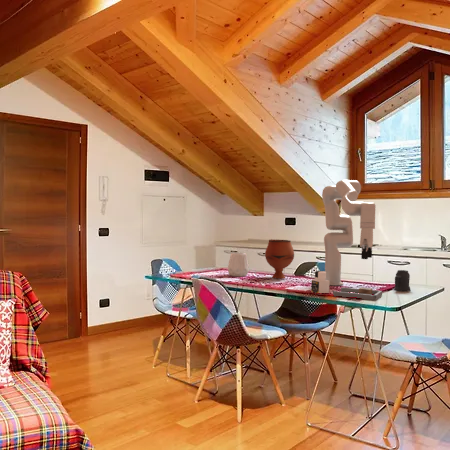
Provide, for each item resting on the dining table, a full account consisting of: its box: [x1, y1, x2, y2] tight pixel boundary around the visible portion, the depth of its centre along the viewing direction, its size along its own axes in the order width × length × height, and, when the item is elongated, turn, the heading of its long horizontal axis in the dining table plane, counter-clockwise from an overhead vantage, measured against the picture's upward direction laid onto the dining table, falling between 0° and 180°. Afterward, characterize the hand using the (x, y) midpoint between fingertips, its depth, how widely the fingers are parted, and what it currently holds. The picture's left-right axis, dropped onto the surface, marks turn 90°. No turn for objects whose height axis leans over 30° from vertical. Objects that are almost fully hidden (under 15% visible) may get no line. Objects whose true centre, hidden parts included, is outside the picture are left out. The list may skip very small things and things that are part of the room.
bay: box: [332, 286, 383, 301], centre depth 265 cm, size 22×16×2 cm
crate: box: [358, 287, 373, 295], centre depth 263 cm, size 6×5×4 cm
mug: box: [393, 269, 411, 293], centre depth 285 cm, size 12×9×11 cm
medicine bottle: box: [310, 270, 330, 294], centre depth 273 cm, size 7×7×12 cm
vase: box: [227, 252, 250, 278], centre depth 336 cm, size 14×14×15 cm
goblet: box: [264, 238, 295, 280], centre depth 328 cm, size 19×19×25 cm
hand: (366, 258), depth 263 cm, fingers open, 9 cm apart
